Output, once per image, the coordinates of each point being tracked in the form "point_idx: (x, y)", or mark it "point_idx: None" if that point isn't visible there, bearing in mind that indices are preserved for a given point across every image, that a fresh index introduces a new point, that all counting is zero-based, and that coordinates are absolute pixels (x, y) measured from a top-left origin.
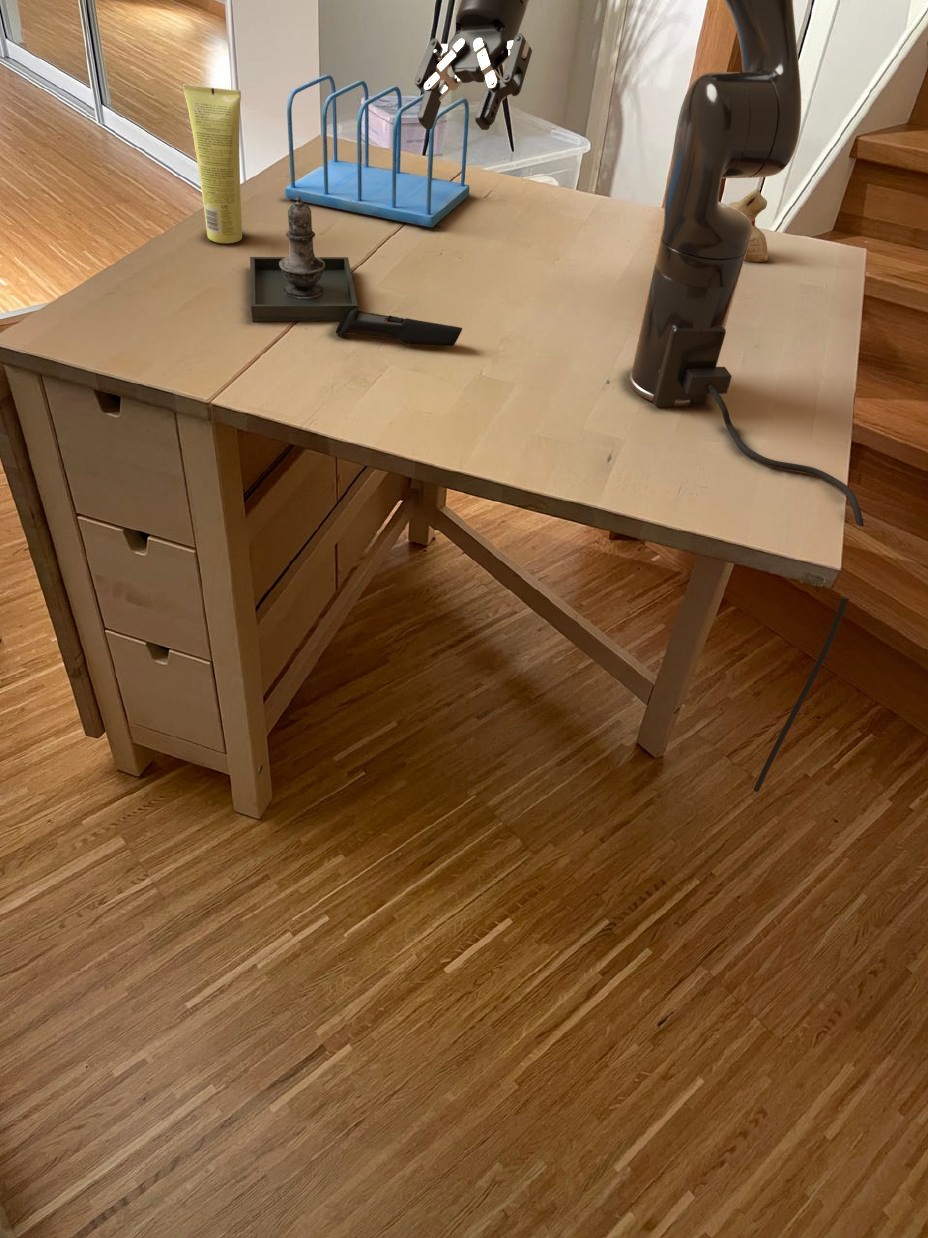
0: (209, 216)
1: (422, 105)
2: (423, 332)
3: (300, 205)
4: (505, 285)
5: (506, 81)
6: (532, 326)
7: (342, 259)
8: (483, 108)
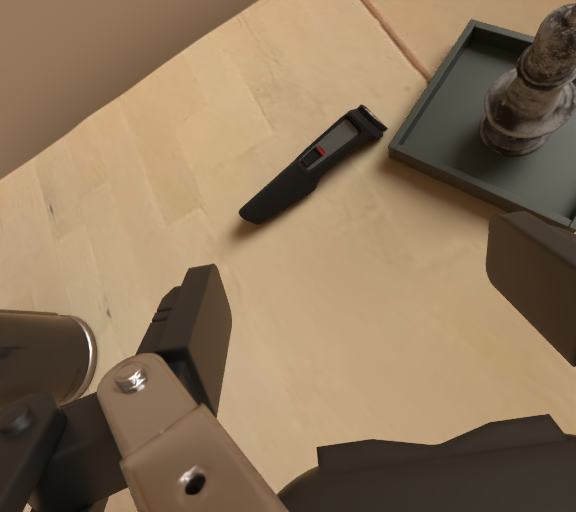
0: None
1: (558, 231)
2: (274, 178)
3: (562, 16)
4: (359, 433)
5: (24, 397)
6: (238, 350)
7: (573, 218)
8: (180, 291)
